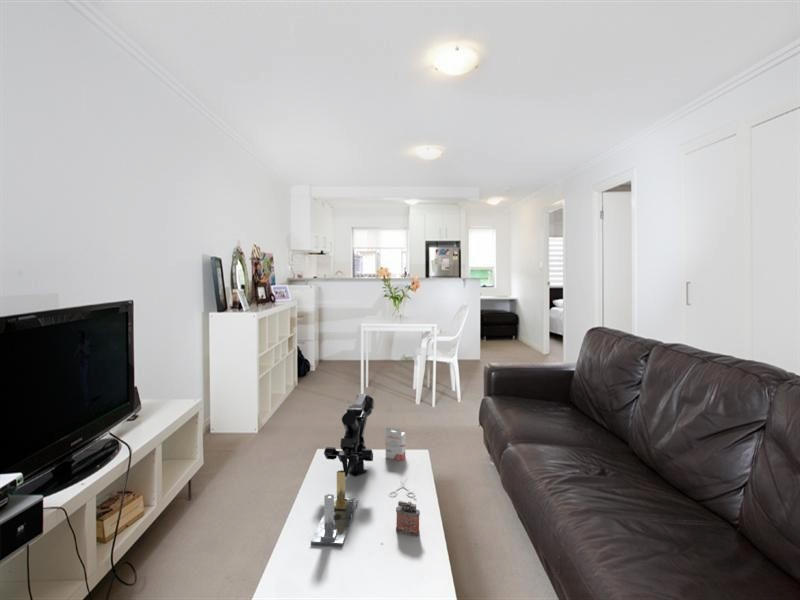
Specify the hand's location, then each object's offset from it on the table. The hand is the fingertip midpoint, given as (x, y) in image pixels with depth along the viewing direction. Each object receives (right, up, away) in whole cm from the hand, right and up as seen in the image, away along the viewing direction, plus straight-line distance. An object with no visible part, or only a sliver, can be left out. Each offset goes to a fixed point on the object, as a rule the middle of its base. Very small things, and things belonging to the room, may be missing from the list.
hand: (345, 476), depth 146 cm
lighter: (+23, -10, -19) cm, 32 cm away
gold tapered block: (-1, -7, -7) cm, 10 cm away
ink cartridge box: (+19, -7, +36) cm, 41 cm away
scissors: (+22, -9, +10) cm, 26 cm away
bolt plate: (-1, -9, -13) cm, 16 cm away
